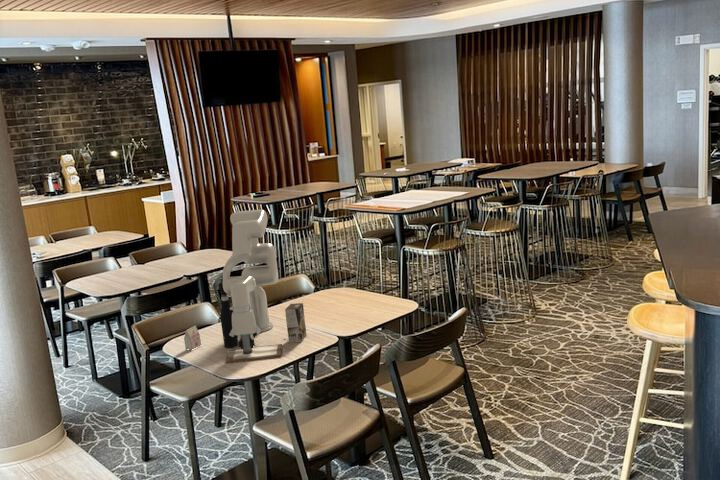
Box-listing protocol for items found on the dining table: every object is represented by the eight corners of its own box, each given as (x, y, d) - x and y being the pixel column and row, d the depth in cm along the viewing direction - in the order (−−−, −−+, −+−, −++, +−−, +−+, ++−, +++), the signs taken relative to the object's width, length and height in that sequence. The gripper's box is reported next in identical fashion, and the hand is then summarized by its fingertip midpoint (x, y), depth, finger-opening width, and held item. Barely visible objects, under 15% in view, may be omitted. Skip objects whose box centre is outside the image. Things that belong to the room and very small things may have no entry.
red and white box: (185, 350, 310) (182, 330, 308) (195, 345, 316) (192, 325, 314) (192, 351, 308) (189, 330, 306) (201, 345, 314) (198, 325, 312)
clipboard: (229, 352, 302) (228, 347, 302) (282, 345, 304) (281, 341, 303) (225, 363, 288) (225, 359, 288) (281, 357, 290) (280, 352, 289)
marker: (243, 351, 298) (240, 326, 295) (252, 350, 298) (249, 324, 295) (242, 354, 293) (239, 329, 291) (252, 353, 294) (248, 327, 291)
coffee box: (301, 342, 306) (297, 308, 303) (288, 342, 307) (284, 309, 304) (307, 335, 314) (303, 302, 311) (294, 335, 316) (290, 303, 313)
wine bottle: (240, 343, 312) (232, 281, 306) (234, 348, 306) (225, 285, 300) (228, 343, 314) (220, 281, 308) (221, 348, 308) (213, 285, 302)
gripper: (221, 313, 287) (227, 353, 291) (260, 308, 288) (265, 348, 292) (223, 308, 295) (229, 347, 298) (261, 303, 296) (266, 342, 299)
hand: (247, 347), depth 295 cm, fingers closed on marker, 4 cm apart
